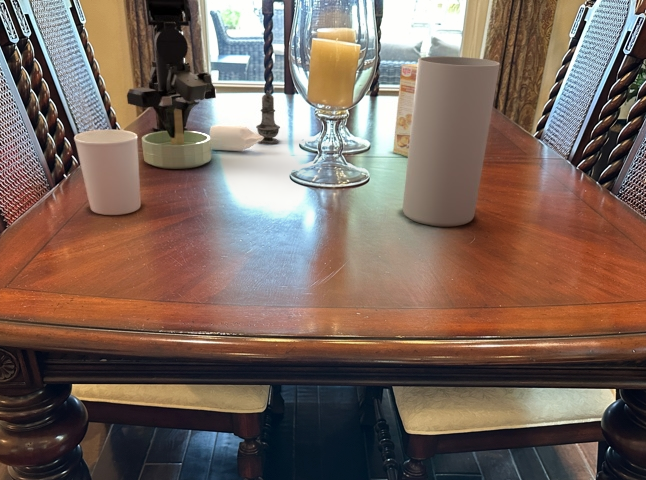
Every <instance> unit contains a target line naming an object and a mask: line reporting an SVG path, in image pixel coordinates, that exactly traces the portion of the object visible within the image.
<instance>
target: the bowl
mask: <svg viewBox="0 0 646 480" xmlns="http://www.w3.org/2000/svg"><path fill="white" fill-rule="evenodd" d="M183 136H184V145H171V138H170V136H169V134H168V132H167V131H155V132H150V133H147V134H144V135H143V136H141V145H142V154H143V161H144V162H145V163H146V164H149V165H151V166H153V167H157V168H160V169H167V170H168V169H169V170H181V169H183V170H184V169H185V170H186V169H193V168H198V167H201V166H204V165H205V164H207V163H209V162H210V161H211V160H212V149H211V142H210V137H209V134H206V133H203V132H200V131H193V130H185V131H184V135H183Z"/></svg>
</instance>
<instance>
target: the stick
mask: <svg viewBox="0 0 646 480" xmlns="http://www.w3.org/2000/svg"><path fill="white" fill-rule="evenodd" d="M173 114H174V127H175V137H174V138H171V137H170V138H171V145H184V136H183V123H182V110H180V109H176V108H175V110H174V113H173Z"/></svg>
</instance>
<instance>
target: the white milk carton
mask: <svg viewBox="0 0 646 480" xmlns="http://www.w3.org/2000/svg"><path fill="white" fill-rule="evenodd" d="M209 129H210V130H209V134H208V136H209V137H210V142H211V151H230V152H231V151H233V152H243V151H244V150H247V149H250V148H252V147H253V146H254V145H257V144H258V143H259V141H261V140H262V139H263V138H264V137H263V136H261V135H259V133H256V132H253V131H252V130H251V129H250V128H249V127H248V126H245V125H243V126H242V125H228V124H227V125H225V124H220V125H219V124H217V125H216V124H215V125H214V124H213V125H211V127H210V128H209Z"/></svg>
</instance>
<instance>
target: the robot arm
mask: <svg viewBox="0 0 646 480" xmlns="http://www.w3.org/2000/svg"><path fill="white" fill-rule="evenodd" d="M144 4H145V6H144V7H145V15H146V23H147V25H148V26H152V35H153V36H152V37H153V44H154V45H153V46H154V47H153V48H154V59H155V60H153V61H151V66H152V67H151V69H150V71H149V73H150V80H148V81H147V83H148V87H135V88H129V89H128V91H127V93H126V99H127V100H126V101H127V104H128V105H131V106H135V107H139V108H145V109H147V108H152V109H153V110H154V112H155V121H156V126H152V127H151V130H153V131H156V132H160V131H167V132H168V134H169V136H170V137H171V138H174V137H175V127H174V114H173V113H174V110H175V108H176V109H180V110H182V123H183V135H184V131H188V130H187V124H188V119H189V116H190V114H191V111H192V110H193V108H195V107H196V106H197V105H199V104H200V101H204V100H210V99H216V98H217V89H216V88H215V86H214V84H213V80H212V74H210V73H209V72H207V71H201V72H199V73H192V71H191V66H190V62H188V61H187V62H186V56H187V54H188V51H189V50H188V49H189V45H188V41H187V38H186V37H185V35H184V32H183V30H182V27H190V22H192V12H191V5H190V0H144ZM199 100H200V101H199Z"/></svg>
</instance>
